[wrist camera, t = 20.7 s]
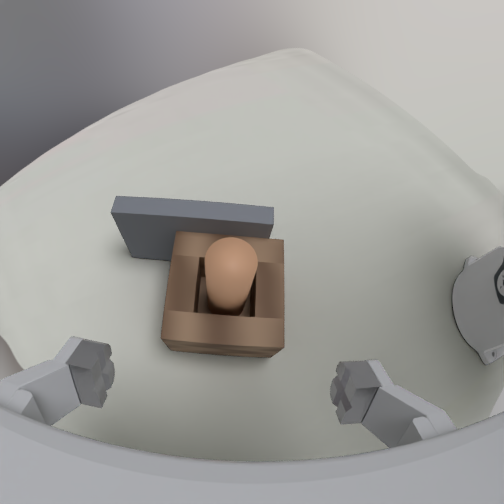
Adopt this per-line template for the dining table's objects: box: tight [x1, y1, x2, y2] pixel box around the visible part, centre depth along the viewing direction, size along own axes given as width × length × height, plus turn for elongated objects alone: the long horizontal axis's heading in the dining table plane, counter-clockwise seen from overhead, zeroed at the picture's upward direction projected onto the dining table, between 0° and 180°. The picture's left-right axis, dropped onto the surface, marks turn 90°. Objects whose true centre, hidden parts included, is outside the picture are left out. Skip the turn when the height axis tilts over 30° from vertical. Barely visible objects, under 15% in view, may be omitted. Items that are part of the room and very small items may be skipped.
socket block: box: [161, 231, 284, 358], centre depth 31 cm, size 11×11×7 cm
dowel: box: [205, 237, 258, 316], centre depth 28 cm, size 4×4×11 cm
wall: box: [111, 196, 274, 261], centre depth 33 cm, size 16×2×10 cm, turn 88°
